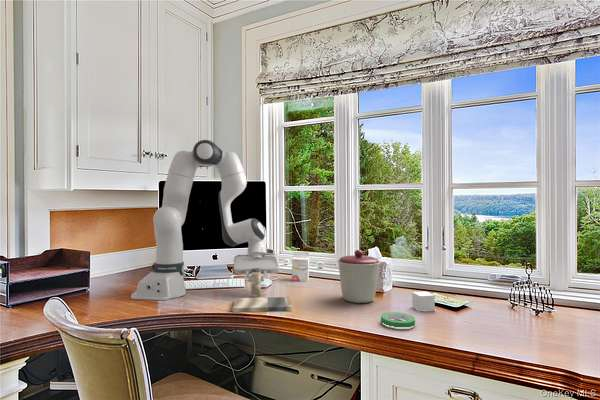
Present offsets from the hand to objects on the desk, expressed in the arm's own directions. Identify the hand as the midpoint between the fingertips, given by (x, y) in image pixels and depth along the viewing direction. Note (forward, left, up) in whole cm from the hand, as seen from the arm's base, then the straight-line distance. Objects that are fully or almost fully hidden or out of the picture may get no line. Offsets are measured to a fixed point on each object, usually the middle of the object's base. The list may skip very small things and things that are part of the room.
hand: (256, 280), depth 156 cm
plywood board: (+3, -14, -7) cm, 16 cm away
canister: (+43, -8, -7) cm, 44 cm away
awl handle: (0, 0, -7) cm, 7 cm away
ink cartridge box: (+22, +31, -7) cm, 39 cm away
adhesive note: (+65, -22, -7) cm, 69 cm away
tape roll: (+49, -38, -7) cm, 62 cm away
